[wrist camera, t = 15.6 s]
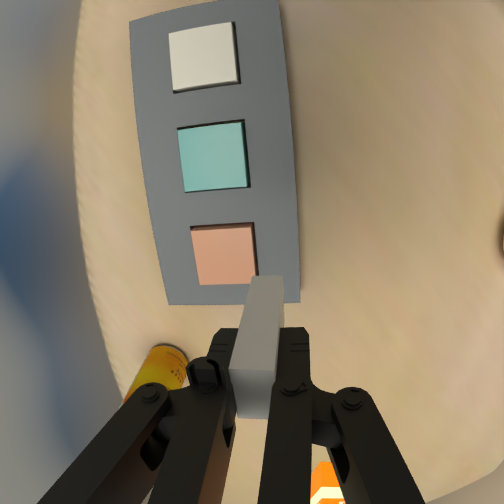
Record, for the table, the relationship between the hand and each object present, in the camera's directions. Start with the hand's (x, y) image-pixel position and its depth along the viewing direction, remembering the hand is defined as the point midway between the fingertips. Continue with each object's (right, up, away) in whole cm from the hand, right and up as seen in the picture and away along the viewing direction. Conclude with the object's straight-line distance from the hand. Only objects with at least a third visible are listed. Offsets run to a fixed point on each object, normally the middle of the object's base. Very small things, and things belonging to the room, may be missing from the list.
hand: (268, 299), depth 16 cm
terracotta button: (-3, +3, +19) cm, 20 cm away
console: (-4, +12, +16) cm, 21 cm away
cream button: (-5, +21, +12) cm, 25 cm away
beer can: (-13, -13, +28) cm, 33 cm away
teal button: (-4, +12, +15) cm, 20 cm away
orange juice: (+16, -42, +37) cm, 58 cm away
